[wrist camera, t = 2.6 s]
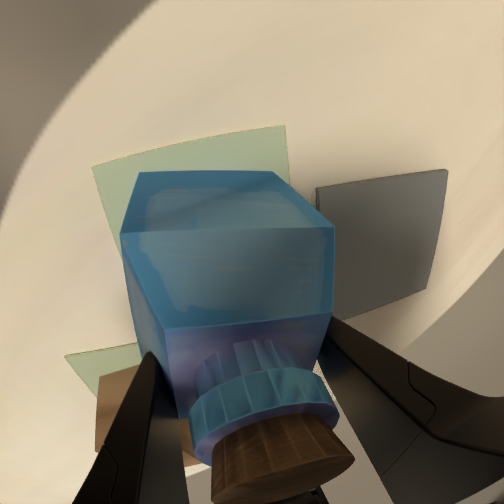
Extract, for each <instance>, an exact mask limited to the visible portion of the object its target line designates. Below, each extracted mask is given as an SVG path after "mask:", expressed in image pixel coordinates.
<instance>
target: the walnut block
mask: <svg viewBox="0 0 504 504" xmlns="http://www.w3.org/2000/svg"><path fill="white" fill-rule="evenodd" d="M139 365H140V364H139ZM139 365H136V366H133V367H129V368H126V369H123V370H120V371H117V372H113V373H110V374H107V375H103V376H100V377H99V384H98V396H97V410H96V430H95V451H96V452H98V453H99V451H100V449H101V446H102V445H103V444H104V443H103V442H104V440H105V437H106V435H107V433H108V431H109V429H110V426H111V424H112V422H113V420H114V418H115V415H116V413H117V411H118V409H119V407H120V405H121V402H122V400H123V398H124V396H125V394H126V392H127V390H128V388H129V386H130V383H131V381H132V379H133V377H134V375H135V373H136V371H137V369H138V367H139ZM188 419H189V418H187V419H179V426H180V436H181V445H182V454H183V462H184V467H187V466H191V465H196V464H200V463H202V462H200V461H199V460H198V459H197V457H196V456H195V454H194V450H193V445H192V439H191V434H190V428H189V422H188Z"/></svg>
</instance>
